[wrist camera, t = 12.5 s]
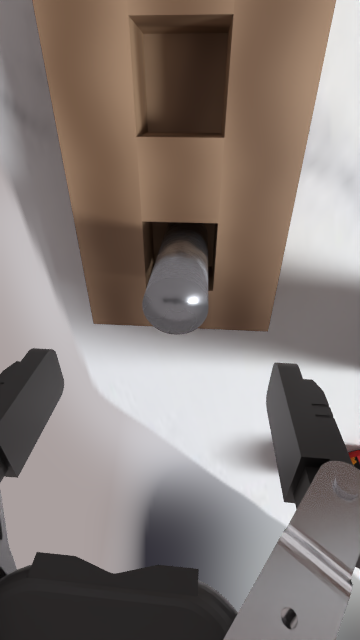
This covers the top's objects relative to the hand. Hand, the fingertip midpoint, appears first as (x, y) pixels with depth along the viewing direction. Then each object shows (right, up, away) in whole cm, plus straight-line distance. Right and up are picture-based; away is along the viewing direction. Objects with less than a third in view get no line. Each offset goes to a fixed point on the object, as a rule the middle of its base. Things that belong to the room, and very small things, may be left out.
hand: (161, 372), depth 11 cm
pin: (+1, +8, +12) cm, 14 cm away
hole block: (+1, +12, +10) cm, 16 cm away
